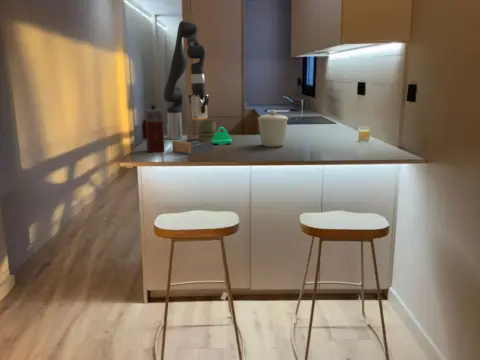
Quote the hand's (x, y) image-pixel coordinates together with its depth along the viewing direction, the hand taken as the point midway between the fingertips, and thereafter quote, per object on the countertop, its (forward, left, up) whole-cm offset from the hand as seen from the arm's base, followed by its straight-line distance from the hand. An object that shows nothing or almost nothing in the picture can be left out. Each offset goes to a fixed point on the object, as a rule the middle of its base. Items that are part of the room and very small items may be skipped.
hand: (199, 112), depth 260 cm
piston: (-18, +26, -21) cm, 38 cm away
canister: (+29, +31, -21) cm, 48 cm away
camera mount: (0, +20, -21) cm, 29 cm away
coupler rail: (+1, -8, -20) cm, 22 cm away
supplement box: (0, 0, -4) cm, 4 cm away
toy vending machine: (-16, -22, -21) cm, 34 cm away
